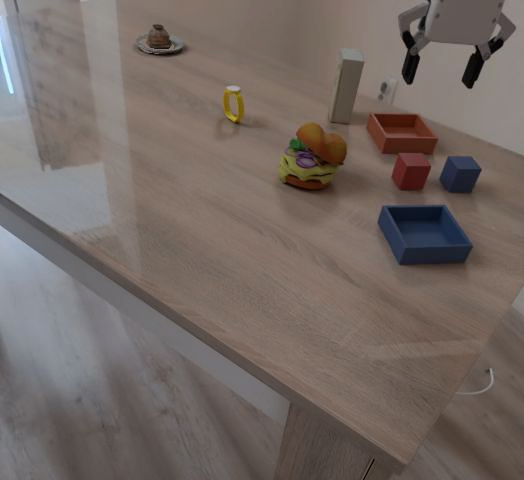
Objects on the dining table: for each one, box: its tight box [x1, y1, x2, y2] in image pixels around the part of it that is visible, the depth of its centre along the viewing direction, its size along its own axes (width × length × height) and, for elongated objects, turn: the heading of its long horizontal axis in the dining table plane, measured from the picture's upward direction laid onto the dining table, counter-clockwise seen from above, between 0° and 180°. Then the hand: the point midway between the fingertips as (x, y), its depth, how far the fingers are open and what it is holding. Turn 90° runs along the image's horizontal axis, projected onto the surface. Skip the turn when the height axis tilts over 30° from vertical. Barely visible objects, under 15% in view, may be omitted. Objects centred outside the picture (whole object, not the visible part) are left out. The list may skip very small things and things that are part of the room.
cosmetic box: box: [328, 46, 365, 125], centre depth 97 cm, size 6×4×12 cm
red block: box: [391, 153, 432, 191], centre depth 84 cm, size 4×4×4 cm
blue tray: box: [377, 204, 474, 266], centre depth 74 cm, size 11×11×3 cm
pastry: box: [134, 23, 185, 55], centre depth 117 cm, size 12×12×5 cm
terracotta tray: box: [366, 112, 439, 155], centre depth 96 cm, size 11×11×3 cm
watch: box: [222, 85, 245, 123], centre depth 94 cm, size 6×3×6 cm, turn 34°
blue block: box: [438, 155, 483, 194], centre depth 85 cm, size 4×4×4 cm
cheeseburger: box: [277, 121, 348, 190], centre depth 82 cm, size 10×11×10 cm
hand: (436, 83), depth 74 cm, fingers open, 9 cm apart
